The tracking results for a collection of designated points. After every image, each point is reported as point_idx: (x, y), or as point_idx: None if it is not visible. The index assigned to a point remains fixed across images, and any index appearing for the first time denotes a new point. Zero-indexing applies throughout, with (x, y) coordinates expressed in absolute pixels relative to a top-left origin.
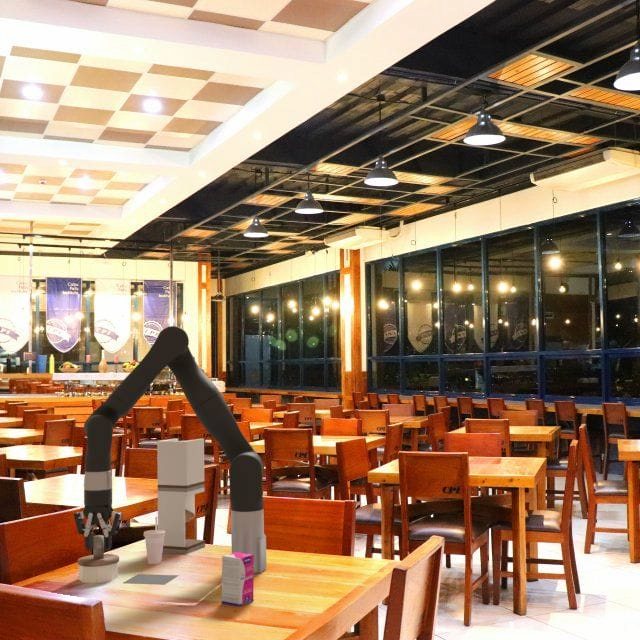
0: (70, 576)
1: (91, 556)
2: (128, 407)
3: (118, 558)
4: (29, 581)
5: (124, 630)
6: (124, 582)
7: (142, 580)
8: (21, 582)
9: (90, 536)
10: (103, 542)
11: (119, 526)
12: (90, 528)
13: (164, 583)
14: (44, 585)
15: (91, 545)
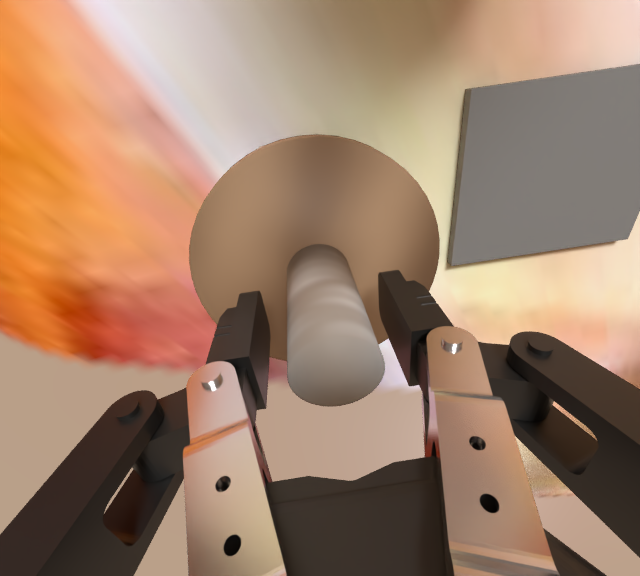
0: (112, 191)
1: (236, 242)
2: None
3: (437, 232)
4: (29, 313)
5: (554, 490)
6: (457, 257)
7: (525, 209)
8: (17, 332)
9: (257, 387)
10: (371, 326)
11: (628, 390)
12: (271, 481)
13: (626, 227)
14: (151, 339)
15: (261, 320)
